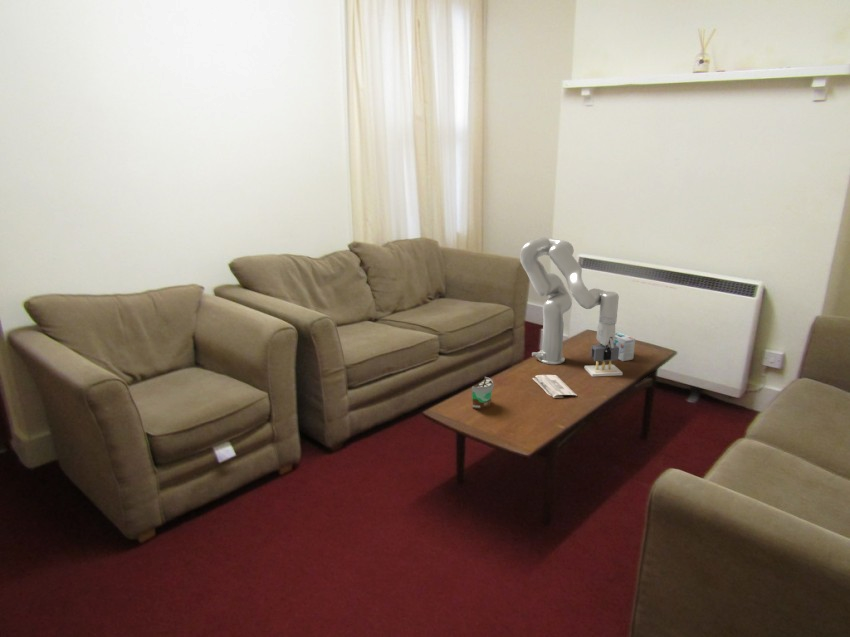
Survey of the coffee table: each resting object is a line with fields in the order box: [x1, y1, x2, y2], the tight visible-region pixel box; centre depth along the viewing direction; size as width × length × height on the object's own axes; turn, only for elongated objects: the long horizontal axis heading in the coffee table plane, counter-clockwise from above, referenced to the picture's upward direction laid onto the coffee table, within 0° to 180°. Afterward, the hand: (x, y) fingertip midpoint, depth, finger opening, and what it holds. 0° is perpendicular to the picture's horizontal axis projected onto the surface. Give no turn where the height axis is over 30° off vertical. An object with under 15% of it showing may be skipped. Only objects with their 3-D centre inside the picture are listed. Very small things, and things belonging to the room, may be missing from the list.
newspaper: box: [532, 374, 578, 399], centre depth 245 cm, size 23×12×2 cm, turn 10°
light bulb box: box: [614, 332, 636, 362], centre depth 277 cm, size 11×7×11 cm, turn 25°
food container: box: [471, 376, 495, 410], centre depth 227 cm, size 12×6×10 cm, turn 148°
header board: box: [583, 360, 623, 378], centre depth 260 cm, size 14×10×5 cm
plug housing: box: [590, 344, 619, 362], centre depth 258 cm, size 11×5×6 cm, turn 96°
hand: (604, 356), depth 259 cm, fingers closed on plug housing, 5 cm apart
